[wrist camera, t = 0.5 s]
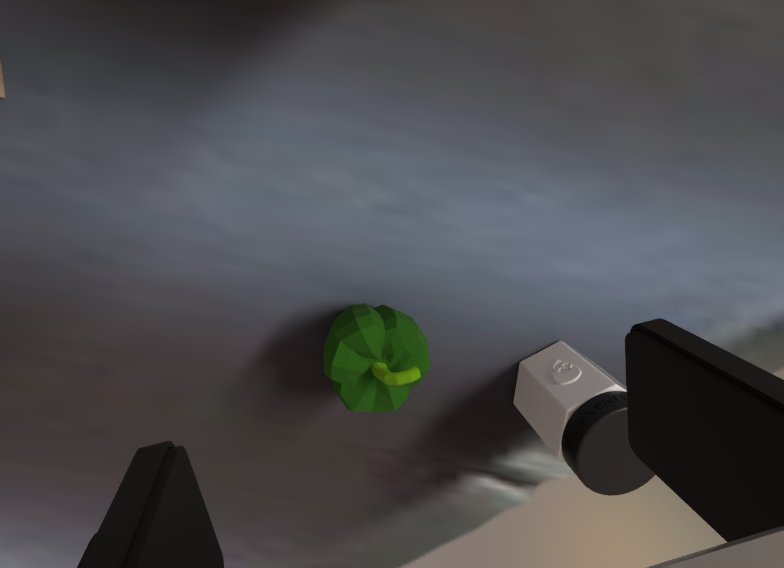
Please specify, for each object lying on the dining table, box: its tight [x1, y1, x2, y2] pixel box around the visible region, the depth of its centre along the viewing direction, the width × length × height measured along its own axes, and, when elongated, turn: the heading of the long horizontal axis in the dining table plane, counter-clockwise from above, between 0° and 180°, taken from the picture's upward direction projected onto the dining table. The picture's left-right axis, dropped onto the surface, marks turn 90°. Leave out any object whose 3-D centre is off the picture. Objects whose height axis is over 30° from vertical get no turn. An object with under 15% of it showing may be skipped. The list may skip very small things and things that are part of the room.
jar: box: [513, 341, 656, 495], centre depth 46 cm, size 9×8×12 cm
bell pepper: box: [323, 304, 430, 412], centre depth 42 cm, size 8×8×10 cm
